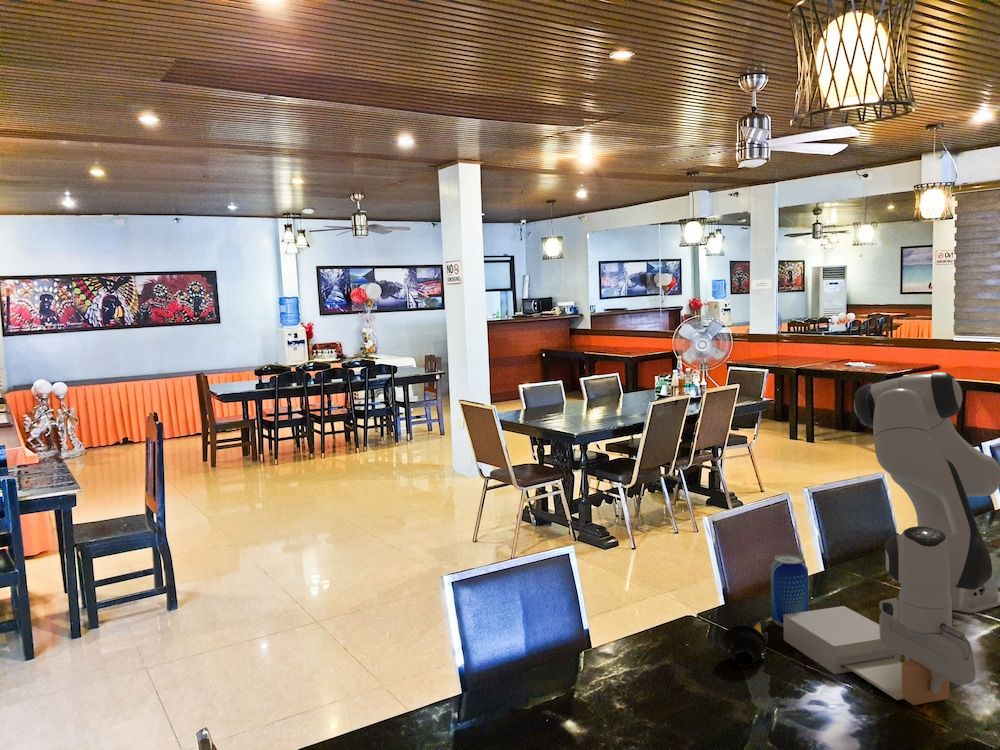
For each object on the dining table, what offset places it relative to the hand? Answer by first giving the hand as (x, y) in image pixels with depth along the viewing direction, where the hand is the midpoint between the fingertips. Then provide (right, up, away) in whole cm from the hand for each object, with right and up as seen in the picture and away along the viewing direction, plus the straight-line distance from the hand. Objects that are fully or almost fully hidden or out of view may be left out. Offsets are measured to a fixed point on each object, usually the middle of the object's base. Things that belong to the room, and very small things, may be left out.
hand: (924, 686), depth 147 cm
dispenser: (-5, -2, +25) cm, 25 cm away
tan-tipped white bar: (-2, -2, +10) cm, 10 cm away
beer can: (-10, -1, +41) cm, 42 cm away
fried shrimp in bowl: (-25, -3, +25) cm, 36 cm away
